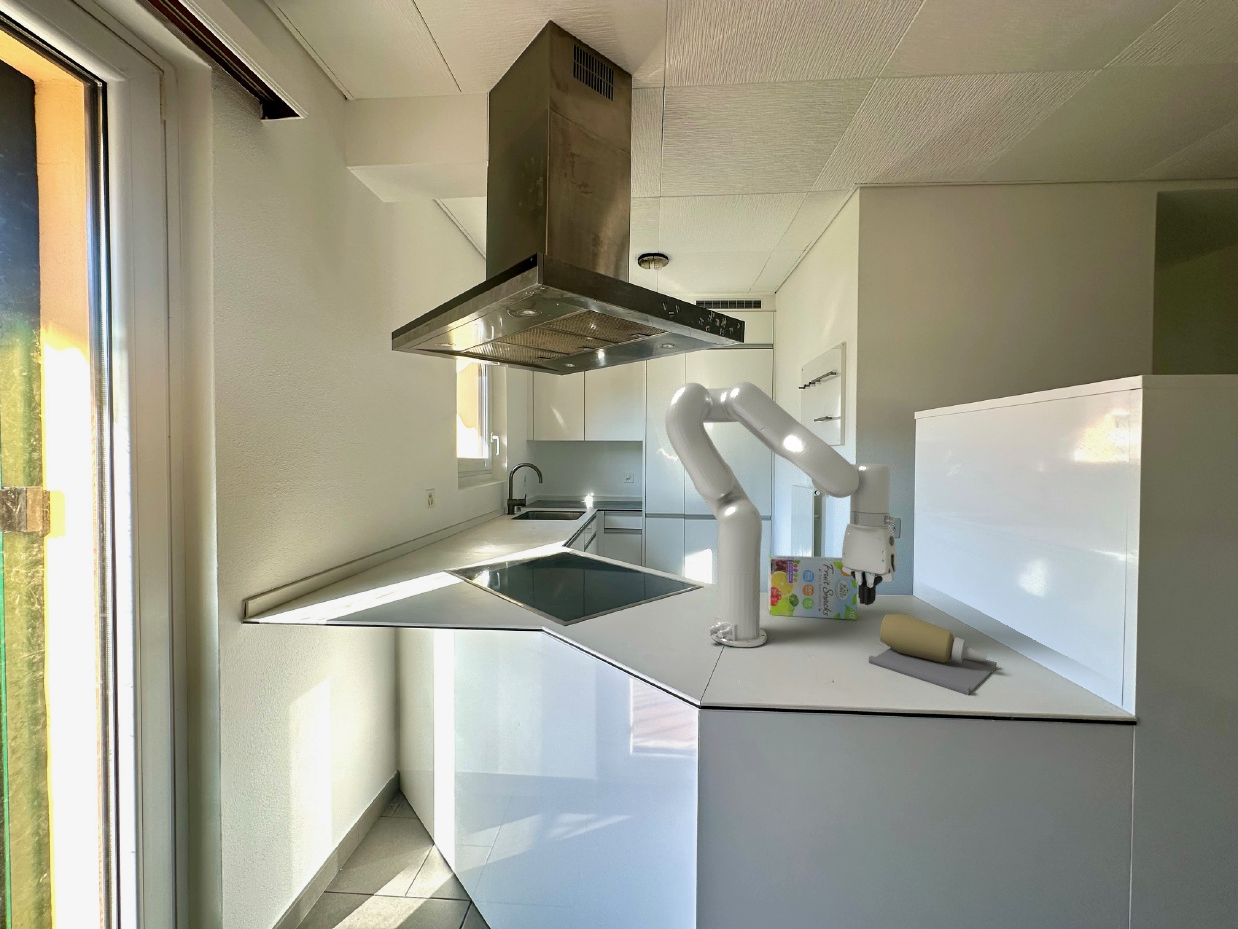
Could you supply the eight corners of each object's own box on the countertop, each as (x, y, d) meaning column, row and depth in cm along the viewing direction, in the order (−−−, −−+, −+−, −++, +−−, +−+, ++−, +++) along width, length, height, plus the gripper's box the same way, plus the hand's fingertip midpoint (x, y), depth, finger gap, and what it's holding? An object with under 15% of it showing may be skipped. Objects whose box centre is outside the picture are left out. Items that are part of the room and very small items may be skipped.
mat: (968, 695, 86) (968, 688, 86) (868, 662, 99) (868, 656, 99) (996, 668, 97) (996, 662, 97) (903, 642, 110) (903, 637, 110)
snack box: (850, 614, 129) (851, 557, 129) (857, 621, 124) (858, 561, 124) (767, 609, 133) (767, 553, 133) (769, 615, 128) (770, 558, 127)
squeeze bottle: (887, 601, 106) (990, 628, 94) (888, 626, 110) (988, 655, 98) (876, 629, 101) (984, 662, 90) (878, 654, 105) (981, 688, 94)
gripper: (913, 522, 103) (910, 609, 104) (843, 515, 115) (841, 592, 116) (898, 525, 99) (895, 616, 99) (827, 517, 110) (825, 598, 111)
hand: (866, 603), depth 107 cm, fingers closed
